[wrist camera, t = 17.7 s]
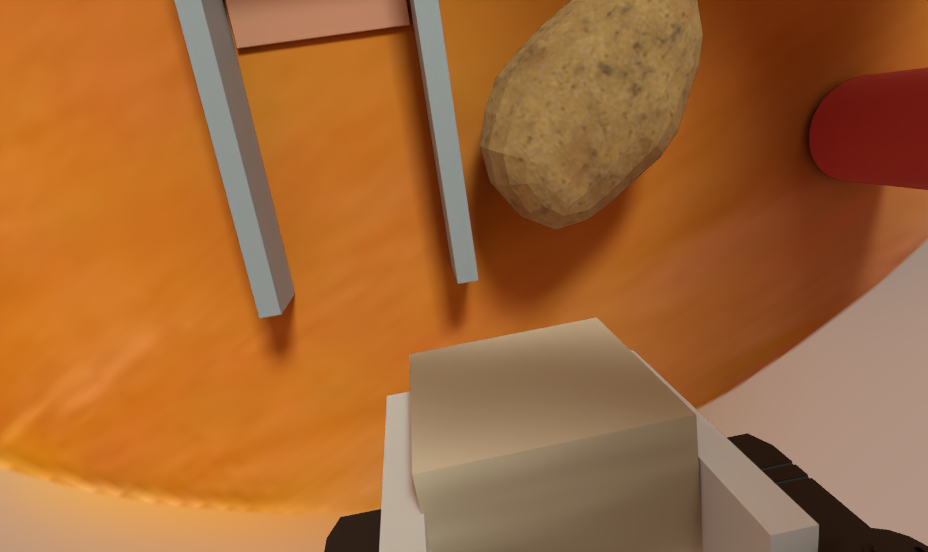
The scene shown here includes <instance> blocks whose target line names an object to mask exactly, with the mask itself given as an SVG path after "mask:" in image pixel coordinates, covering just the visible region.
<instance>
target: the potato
mask: <svg viewBox="0 0 928 552" xmlns="http://www.w3.org/2000/svg"><path fill="white" fill-rule="evenodd" d="M702 37H703V32H702V26H701V20H700V14H699V8H698V2H697V0H571V1H570V2H569V3H567V4H566V5H565V6H564V7H563V8H562V9H560V10H559V11H558V12H557V13H556V14H555V15H554V16H552V17H551V18H550V19H549V20H548V21H547V22H546V23H544V24H543V25H542V26H541V27H540V28H539V29H538V30H537V31H536V32H535V33H534V34H533V35H532V36H531V38H530V39H529V40H528V41H527V42H526V43H525V44H524V45H523V46H522V47H521V48H520V49H519V51H518V52H517V53H516V54H515V55H514V56H513V58H512V59H511V60H510V61H509V62H508V63H507V65H506V66H505V67H504V68H503V69H502V70H501V72H500V73H499V74H498V75H497V77H496V79H495V82H494V85H493V88H492V91H491V94H490V97H489V100H488V103H487V106H486V109H485V114H484V120H483V127H482V134H481V141H480V148H481V152H482V155H483V159H484V162H485V166H486V170H487V173H488V177H489V180H490V182H491V184H492V185H493V186H494V187H495V188H496V189H497V190H498V192H499V193H500V194H501V195H502V196H503V197H504V198H505V200H506V201H507V202H508V203H509V204H510V205H511V206H512V208H513V209H514V210H515V211H516V212H517V213H518V214H519V215H520V216H521V217H523V218H525V219H528V220H531V221H533V222H536V223H538V224H541V225H544V226H546V227H549V228H552V229H554V230H557V229H560V228H563V227H566V226H569V225H573V224H576V223H579V222H582V221H585V220H588V219H589V218H591V217H592V216H593V215H595V214H596V213H597V212H599V211H600V210H601V209H602V208H604V207H605V206H606V205H608V204H609V203H610V202H612V201H613V200H614V199H615V198H616V197H617V196H618V195H619V194H620V193H621V192H623V191H624V190H625V189H626V188H627V187H628V186H629V185H630V184H631V183H632V182H633V181H634V180H635V179H636V178H637V177H638V176H640V175H641V174H642V173H643V172H644V171H645V170H646V169H647V168H649V167H650V166H651V165H652V164H653V163H654V162H655V161H656V160H658V159H659V158H660V157H661V155H662V154H663V152H664V151H665V149H666V148H667V147H668V145H669V144H670V142H671V141H672V139H673V138H674V136H675V135H676V133H677V132H678V128H679V125H680V121H681V118H682V115H683V111H684V108H685V105H686V102H687V99H688V96H689V93H690V90H691V87H692V84H693V81H694V78H695V75H696V72H697V69H698V66H699V59H700V52H701V45H702Z"/></svg>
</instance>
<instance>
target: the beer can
mask: <svg viewBox="0 0 928 552" xmlns="http://www.w3.org/2000/svg"><path fill="white" fill-rule="evenodd" d="M809 149H810V151H811V154H812V157H813V160H814V162H815V163H816V165H817V166H818V167H819V168H820V169H821V171H822V172H823V173H824V174H826V175H828V176H830V177H832V178H834V179H836V180H841V181H850V182H860V183H869V184H878V185H887V186H897V187H906V188H915V189H924V190H928V68H922V69H913V70H905V71H897V72H889V73H881V74H873V75H865V76H861V77H856V78H852V79H849V80H847V81H845V82H844V83H842V84H840V85H839V86H837V87H835V88H834V89H833V90H832V91H831V92H830V93H829V94H828V95H827V96H826V97H825V98H824V99H823V100H822V101H821V103H820V105H819V107H818V108H817V110H816V112H815V114H814V116H813V119H812V123H811V126H810V130H809Z"/></svg>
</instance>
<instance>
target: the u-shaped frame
mask: <svg viewBox="0 0 928 552" xmlns="http://www.w3.org/2000/svg"><path fill="white" fill-rule="evenodd" d="M174 1H175V5H176V8H177V12H178V16H179V20H180V23H181V27H182V31H183V34H184V38H185V42H186V46H187V49H188V53H189V57H190V61H191V64H192V68H193V72H194V76H195V79H196V83H197V87H198V91H199V94H200V98H201V102H202V105H203V109H204V113H205V117H206V120H207V124H208V128H209V132H210V135H211V139H212V143H213V147H214V150H215V154H216V158H217V162H218V165H219V169H220V173H221V176H222V180H223V184H224V188H225V191H226V195H227V199H228V203H229V206H230V210H231V214H232V218H233V221H234V225H235V229H236V233H237V236H238V240H239V244H240V247H241V251H242V255H243V259H244V262H245V266H246V270H247V274H248V277H249V281H250V285H251V289H252V292H253V296H254V300H255V304H256V307H257V311H258V315H259V318H264V317H270V316H276V315H281V314H282V313H283V311H284V310H285V308H286V307H287V305H288V304H289V302H290V300H291V299H292V297H293V296H294V294H295V292H294V288H293V284H292V280H291V276H290V272H289V268H288V264H287V259H286V255H285V251H284V247H283V243H282V239H281V235H280V231H279V227H278V223H277V219H276V215H275V210H274V206H273V202H272V198H271V194H270V190H269V186H268V182H267V178H266V174H265V170H264V166H263V161H262V157H261V153H260V149H259V145H258V141H257V137H256V133H255V129H254V125H253V121H252V117H251V112H250V108H249V104H248V100H247V96H246V92H245V88H244V84H243V80H242V76H241V72H240V68H239V63H238V59H237V55H236V51H235V47H234V43H233V39H232V35H231V31H230V27H229V23H228V19H227V14H226V10H225V6H224V2H223V0H174ZM226 4H227V9H228V13H229V17H230V21H231V25H232V29H233V33H234V37H235V41H236V45H237V48H238V49H241V48H248V47H256V46H263V45H270V44H277V43H285V42H292V41H299V40H307V39H314V38H321V37H328V36H336V35H343V34H350V33H358V32H365V31H372V30H379V29H387V28H394V27H401V26H409V25H410V21H409V15H408V9H407V2H406V0H226ZM410 7H411V13H412V19H413V26H414V32H415V38H416V45H417V51H418V57H419V64H420V70H421V76H422V83H423V89H424V95H425V102H426V108H427V115H428V121H429V127H430V134H431V140H432V146H433V153H434V159H435V165H436V172H437V178H438V184H439V191H440V197H441V203H442V210H443V216H444V222H445V229H446V235H447V241H448V248H449V254H450V260H451V267H452V270H453V272H454V275H455V277H456V280H457V283H458V284H460V283H466V282H472V281H478V280H479V279H478V273H477V266H476V259H475V252H474V245H473V238H472V231H471V224H470V217H469V210H468V203H467V196H466V189H465V182H464V175H463V168H462V162H461V155H460V148H459V141H458V134H457V127H456V120H455V113H454V106H453V99H452V92H451V85H450V78H449V71H448V64H447V57H446V51H445V44H444V37H443V30H442V23H441V16H440V9H439V2H438V0H410Z"/></svg>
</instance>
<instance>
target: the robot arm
mask: <svg viewBox="0 0 928 552" xmlns="http://www.w3.org/2000/svg"><path fill="white" fill-rule="evenodd" d="M631 351H632V352H633V353H634V354H635V355H636V356H637V357H638V358H639V359H640V360H641V361H642V362H643V363H644V364H645V365H646V366H647V367H648V368H649V369H650V370H651V371H652V372H653V373H654V374H655V375H656V376H657V377H658V378H659V379H660V380H661V381H662V382H663V383H664V384H665V385H667V386H668V387H669V388H670V389H671V390H672V391H673V392H674V393H675V394H676V395H677V396H678V397H679V398H680V399H681V400H682V401H683V402H684V403H685V404H686V405H687V406H688V407H689V408H690V409H691V410H692V411H693V412H694V413H695V414H696V418H697V439H698V460H699V481H700V502H701V523H702V543H703V552H928V546H926V545H924V544H923V543H921V542H919V541H917V540H915V539H913V538H911V537H909V536H906V535H903V534H900V533H896V532H893V531H890V530H884V529H875V528H870V527H869V526H868V525H867V524H866V523H864V522H863V521H862V520H861V519H859V518H858V517H857V516H856V515H855V514H854V513H853V512H851V511H850V510H849V509H848V508H847V507H845V506H844V505H843V504H842V503H841V502H839V501H838V500H837V499H836V498H835V497H834V496H832V495H831V494H830V493H829V492H828V491H826V490H825V489H824V488H823V487H822V486H821V485H819V484H818V483H817V482H816V481H815V480H813V479H812V478H810V479H809V478H808V475H807V474H806V473H805V472H804V471H803V470H802V469H800V468H799V467H798V466H796V465H793V464H792V461H791V460H789V459H788V458H787V457H786V456H785V455H784V454H782V453H781V452H780V451H779V450H778V449H777V448H775V447H774V446H773V445H771V444H769V443H767V442H764V441H762V440H760V439H758V438H756V437H754V436H751V435H749V434H743V435H738V436H733V437H728V438H726V437H725V436H724V435H723V434H722V433H721V432H720V431H719V430H718V429H717V428H716V427H715V426H713V425H712V424H711V423H710V422H709V421H708V420H707V419H706V418H705V417H704V416H703V415H702V414H701V413H699V411H698V410H696V409H695V408H694V407H693V406H692V405H691V404H690V403H689V402H688V401H687V400H686V399H685V398H684V397H683V396H682V395H680V394H679V393H678V392H677V391H676V390H675V389H674V388H673V387H672V386H671V385H670V384H669V383H668V382H667V381H666V380H665V379H663V378H662V377H661V376H660V375H659V374H658V373H657V372H656V371H655V370H654V369H653V368H652V367H651V366H650V365H649V364H647V363H646V362H645V361H644V360H643V359H642V358H641V357H640V356H639V355H638V354H637V353H636V352H635V351H634V350H631ZM324 552H431V547H430V542H429V537H428V532H427V527H426V522H425V517H424V514H421V511H420V507H419V502H418V498H417V494H416V489H415V485H414V480H413V476H412V444H411V401H410V392H405V393H399V394H394V395H389V396H387V408H386V427H385V447H384V466H383V486H382V505H381V509H379V510H374V511H369V512H365V513H359V514H354V515H350V516H345V517H341V518H340V519H339V521H338V522H337V524H336V525H335V526H334V528H333V530H332V531H331V533H330V534H329V536H328V537H327V540H326V546H325V551H324Z"/></svg>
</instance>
